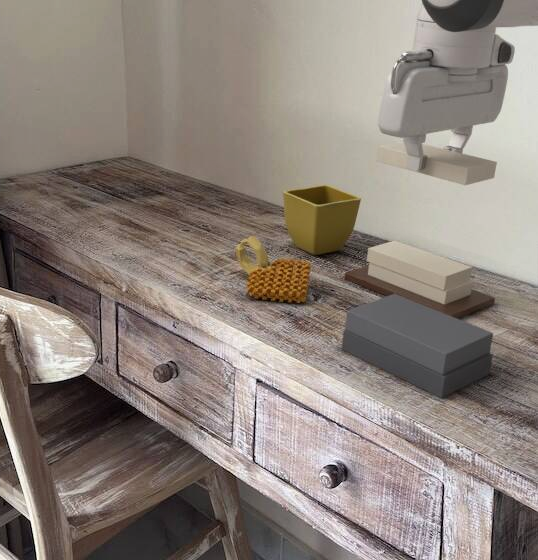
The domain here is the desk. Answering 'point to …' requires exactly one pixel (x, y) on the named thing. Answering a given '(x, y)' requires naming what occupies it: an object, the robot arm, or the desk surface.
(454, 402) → the desk surface
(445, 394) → the grey stack
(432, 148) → the cream book
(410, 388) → the desk surface
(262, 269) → the ornament
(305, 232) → the flower pot
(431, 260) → the cream stack
